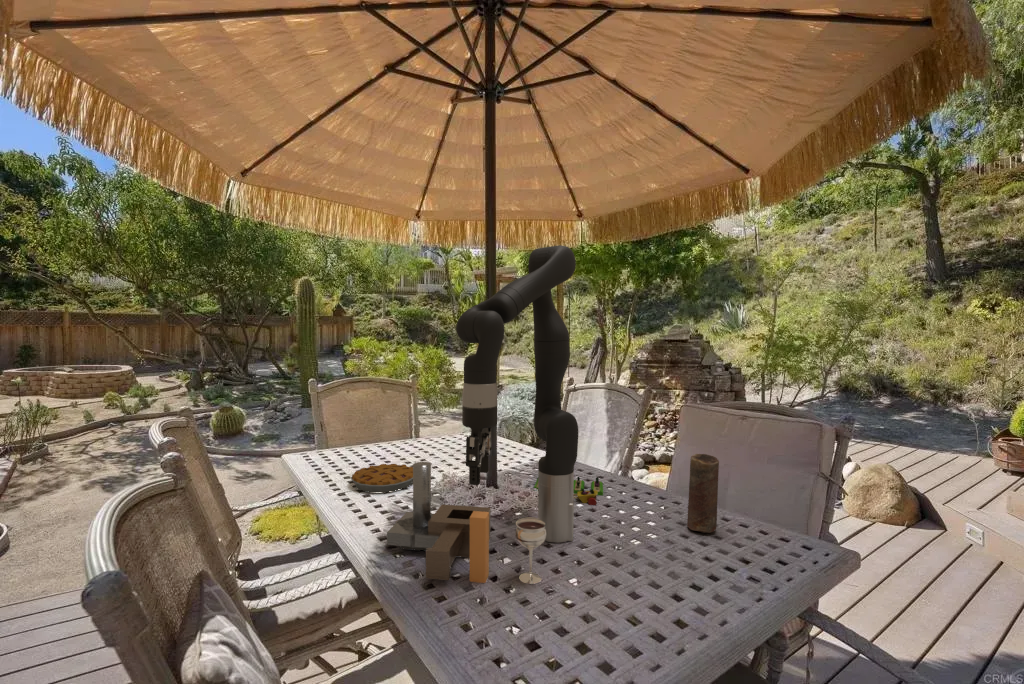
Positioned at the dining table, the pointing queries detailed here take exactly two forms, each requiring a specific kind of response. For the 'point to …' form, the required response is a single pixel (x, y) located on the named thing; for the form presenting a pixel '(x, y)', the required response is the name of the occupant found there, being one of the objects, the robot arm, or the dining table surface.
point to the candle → (703, 493)
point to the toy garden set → (585, 495)
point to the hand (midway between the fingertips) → (479, 478)
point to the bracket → (449, 538)
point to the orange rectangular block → (479, 546)
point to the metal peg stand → (416, 514)
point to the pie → (383, 478)
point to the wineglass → (530, 542)
